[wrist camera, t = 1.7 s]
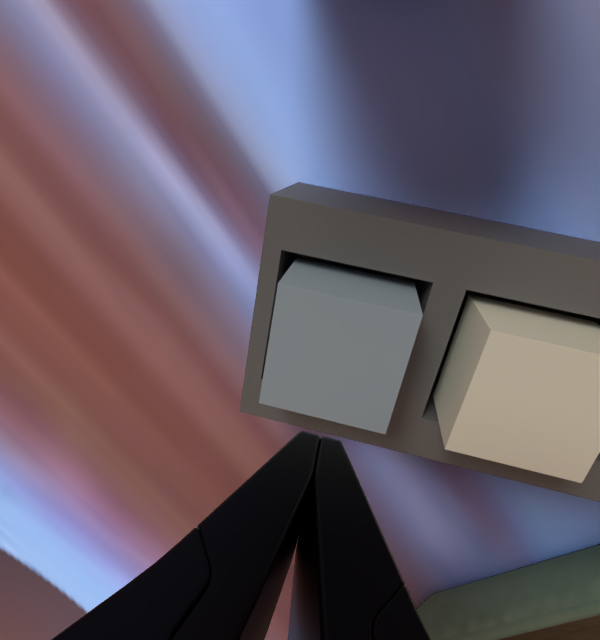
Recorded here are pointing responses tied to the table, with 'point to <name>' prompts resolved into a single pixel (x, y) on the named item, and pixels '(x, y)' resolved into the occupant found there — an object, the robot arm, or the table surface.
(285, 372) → the slate blue key
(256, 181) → the table surface
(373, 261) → the keypad
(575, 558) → the tea set
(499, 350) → the white key
